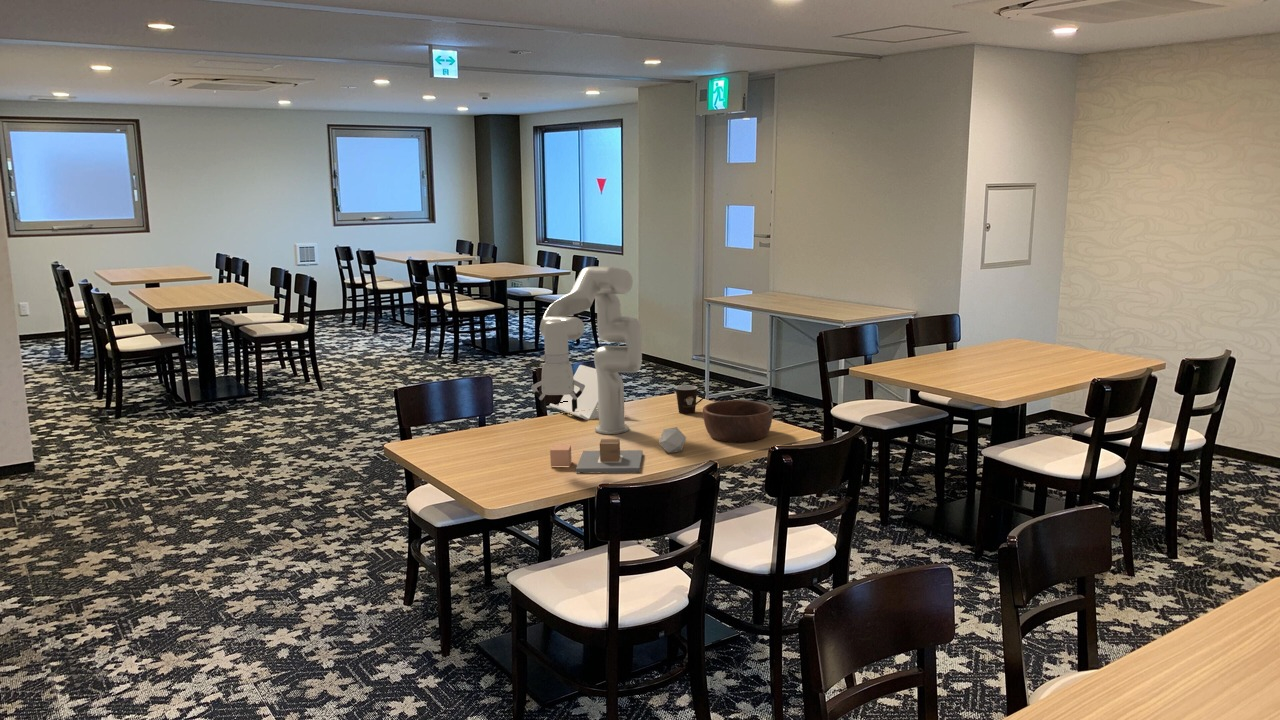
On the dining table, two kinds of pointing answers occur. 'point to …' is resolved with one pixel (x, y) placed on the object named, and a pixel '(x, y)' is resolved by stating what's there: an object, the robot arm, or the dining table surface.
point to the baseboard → (626, 464)
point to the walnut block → (609, 450)
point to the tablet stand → (583, 395)
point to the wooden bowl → (737, 420)
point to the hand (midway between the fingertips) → (559, 411)
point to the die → (672, 440)
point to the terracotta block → (560, 455)
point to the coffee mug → (687, 398)
